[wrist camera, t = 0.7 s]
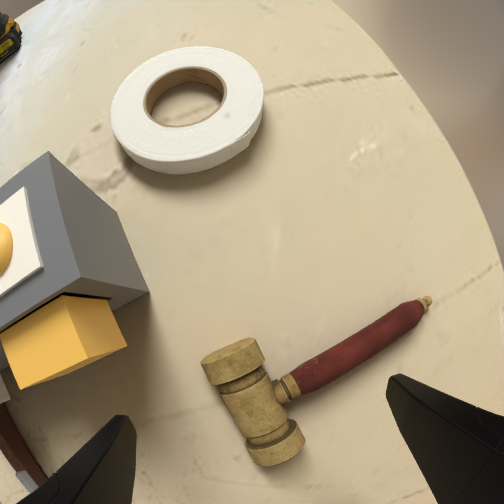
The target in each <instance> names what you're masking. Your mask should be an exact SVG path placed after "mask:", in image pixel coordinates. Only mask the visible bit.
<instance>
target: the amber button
mask: <svg viewBox="0 0 504 504" xmlns="http://www.w3.org/2000/svg"><path fill="white" fill-rule="evenodd" d="M0 339H1V342H2V345H3V348H4V351H5V354H6V356H7V359H8V362H9V364H10V367H11V369H12V372H13V374H14V377H15V379H16V381H17V384H18V386H19V388H20V390H21V389H24V388H27V387H30V386H33V385H36V384H39V383H42V382H45V381H48V380H51V379H54V378H57V377H60V376H63V375H66V374H69V373H71V372H73V371H75V370H77V369H79V368H82V367H84V366H86V365H88V364H90V363H92V362H94V361H97V360H99V359H101V358H103V357H105V356H107V355H109V354H111V353H114V352H116V351H118V350H120V349H122V348H124V347H126V346H127V344H126V342H125V340H124V337H123V335H122V333H121V331H120V329H119V327H118V325H117V322H116V320H115V318H114V316H113V313H112V311H111V309H110V306H109V304H108V302H107V300H102V299H92V298H82V297H72V296H64V295H62V296H60V297H59V298H57V299H55V300H54V301H52V302H50V303H49V304H47V305H45V306H44V307H42V308H41V309H39V310H37V311H36V312H34V313H32V314H31V315H29V316H28V317H26V318H24V319H23V320H21V321H20V322H18V323H17V324H15V325H13V326H12V327H10V328H9V329H7V330H6V331H4V332H3V333H1V334H0Z"/></svg>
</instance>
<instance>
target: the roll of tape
mask: <svg viewBox="0 0 504 504" xmlns="http://www.w3.org/2000/svg"><path fill="white" fill-rule="evenodd" d="M189 82H198V83H204V84H207V85H211V86H212V87H214V88H215V89H217V90H218V91H219V92H220V93H221V95H222V97H223V100H222V102H221V104H220V105H219V107H218V108H217V109H216V110H215V111H214V112H213V113H212V114H211V115H210V116H208V117H207V118H205V119H203V120H201V121H199V122H196V123H193V124H189V125H182V126H171V125H165V124H162V123H159V122H157V121H156V120H154V119H153V118H152V117H151V112H152V108H153V105H154V104H155V102H156V100H157V99H158V98H159V97H160V96H161V95H162V94H163V93H164V92H165V91H167V90H168V89H170V88H172V87H174V86H176V85H179V84H183V83H189ZM263 102H264V88H263V84H262V81H261V79H260V77H259V75H258V73H257V72H256V70H255V69H254V68H253V67H252V66H251V65H250V64H249V63H248V62H247V61H246V60H244V59H243V58H241V57H240V56H238V55H236V54H234V53H232V52H229V51H226V50H223V49H219V48H214V47H204V46H195V47H184V48H179V49H175V50H171V51H168V52H165V53H162V54H160V55H157V56H155V57H153V58H151V59H149V60H148V61H146V62H144V63H143V64H141V65H140V66H138V67H137V68H136V69H135V70H134V71H132V72H131V73H130V74H129V75H128V77H127V78H126V79H125V80H124V81H123V83H122V84H121V85H120V87H119V88H118V90H117V92H116V94H115V96H114V98H113V101H112V105H111V111H110V121H111V126H112V130H113V132H114V134H115V136H116V138H117V140H118V141H119V143H120V144H121V146H122V147H123V149H124V150H125V152H126V153H127V154H128V155H129V156H130V157H131V158H132V159H133V160H134V161H136V162H137V163H138V164H140V165H142V166H144V167H146V168H148V169H150V170H153V171H156V172H160V173H165V174H190V173H196V172H200V171H204V170H207V169H210V168H213V167H216V166H218V165H220V164H222V163H224V162H226V161H228V160H229V159H231V158H233V157H234V156H236V155H237V154H239V153H240V152H242V151H243V150H245V149H246V148H247V147H248V146H249V144H250V140H251V139H252V138H253V136H254V135H255V133H256V131H257V129H258V127H259V125H260V122H261V118H262V110H263Z"/></svg>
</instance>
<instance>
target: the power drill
mask: <svg viewBox="0 0 504 504" xmlns="http://www.w3.org/2000/svg"><path fill="white" fill-rule="evenodd" d="M21 35H22V32H21V30H20V27H19V25H18V24H17V23H16V22H14V19H9V17H8V15H7V14H1V12H0V63H2V62H3V61H4V60H5V59H7V58H8V57H9V56H10V55H12V54H13V53H14V52H15V51H17V49H18V48H19V45H20V43H21V42H22V41H21Z"/></svg>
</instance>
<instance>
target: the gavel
mask: <svg viewBox="0 0 504 504" xmlns="http://www.w3.org/2000/svg"><path fill="white" fill-rule="evenodd" d="M431 303H432V298H431V297H430V296H425V297H424V298H423V299H416V300H414V301H410V302H405V303H402V304H400V305H399V306H397V307H396V308H395V309H393V310H392V311H390V312H389V313H387V314H385V315H384V316H382V317H381V318H379V319H378V320H376V321H375V322H373V323H372V324H370V325H368V326H367V327H365V328H364V329H362V330H360V331H359V332H357V333H355V334H354V335H352V336H350V337H349V338H347V339H345V340H344V341H342V342H340V343H339V344H337V345H335V346H333V347H332V348H330V349H328V350H326V351H325V352H323V353H321V354H319V355H317V356H316V357H314V358H312V359H310V360H308V361H306V362H304V363H303V364H301V365H300V366H298V367H297V368H296V369H294V370H293V371H292V372H290V373H289V374H287V375H285V376H283V377H281V380H278V379H276V380H274V381H272V382H271V380H270V378H269V376H268V374H267V372H264V370H263V368H262V366H261V364H262V363H263V362H264V361H265V359H264V356H263V354H262V352H261V350H260V348H259V346H258V344H257V342H256V340H255V339H254V338H247V339H243V340H241V341H238V342H235V343H233V344H231V345H229V346H226V347H224V348H222V349H219V350H217V351H215V352H213V353H212V354H210V355H208V356H206V357H205V358H204V359H203V360H202V361H201V366H202V368H203V370H204V372H205V374H206V376H207V378H208V380H209V382H210V383H211V384H212V385H218V386H219V388H220V390H221V393H220V394H221V396H222V398H223V400H224V401H225V403H226V405H227V407H228V409H229V411H230V413H231V414H232V416H233V418H234V420H235V422H236V423H237V425H238V427H239V429H240V430H241V432H242V434H243V436H245V437H247V440H246V441H245V447H246V448H247V450H248V452H249V453H250V455H251V457H252V458H253V460H254V462H255V463H256V464H258V465H260V466H272V465H277V464H280V463H283V462H285V461H287V460H289V459H291V458H292V457H294V456H295V455H296V454H297V453H298V452H299V451H300V450H301V449H302V448H303V446H304V444H305V438H304V436H303V434H302V432H301V430H300V428H299V426H298V424H297V422H296V421H295V420H292V419H288V414H287V412H286V410H285V408H284V406H283V405H285V404H287V403H289V400H290V399H292V400H294V399H296V398H298V397H300V396H302V395H305V394H308V393H311V392H313V391H316V390H318V389H320V388H322V387H323V386H325V385H327V384H329V383H330V382H332V381H334V380H336V379H337V378H339V377H341V376H342V375H344V374H346V373H347V372H349V371H351V370H352V369H354V368H355V367H357V366H359V365H360V364H362V363H363V362H365V361H366V360H368V359H370V358H371V357H373V356H374V355H376V354H377V353H379V352H380V351H382V350H383V349H385V348H386V347H387V346H389V345H390V344H392V343H393V342H395V341H396V340H397V339H399V338H400V337H402V336H403V335H404V334H406V333H407V332H408V331H410V330H411V329H412V328H414V327H415V326H416V325H417V324H418V322H419V321H420V319H421V317H422V316H423V314H424V313H425V312H426V311H427V307H428V306H430V305H431Z"/></svg>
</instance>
